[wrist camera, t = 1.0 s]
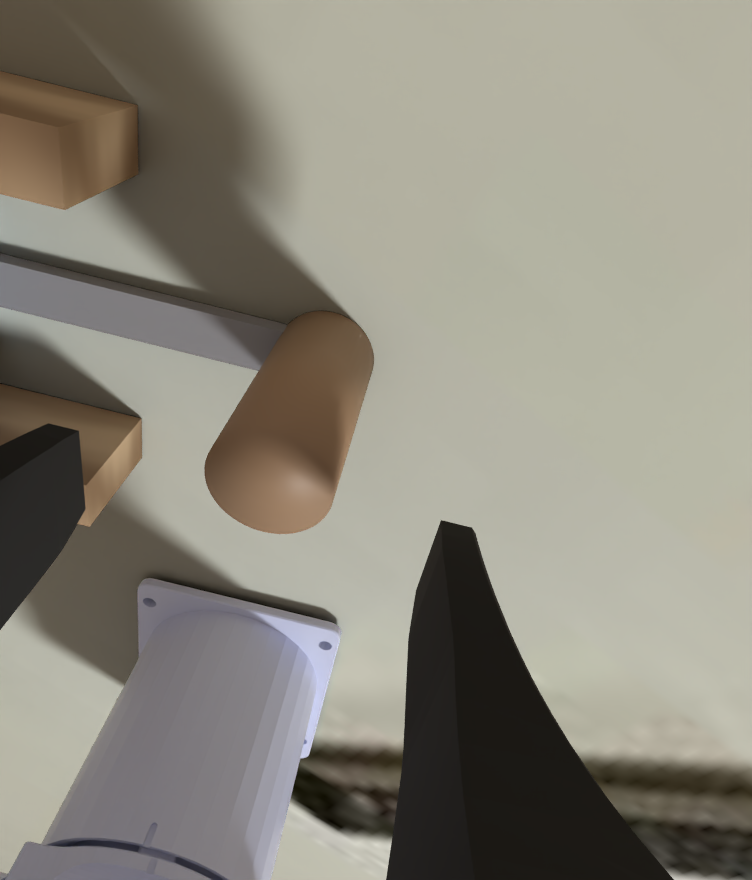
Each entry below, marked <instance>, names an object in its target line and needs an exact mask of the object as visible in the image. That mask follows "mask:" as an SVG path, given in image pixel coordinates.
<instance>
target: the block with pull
mask: <svg viewBox="0 0 752 880" xmlns="http://www.w3.org/2000/svg"><path fill="white" fill-rule="evenodd" d="M0 307H3V308H7V309H11V310H15V311H19V312H24V313H28V314H32V315H36V316H40V317H44V318H48V319H52V320H56V321H60V322H64V323H68V324H72V325H76V326H80V327H84V328H88V329H92V330H96V331H100V332H104V333H108V334H112V335H116V336H120V337H124V338H128V339H132V340H136V341H140V342H145V343H149V344H153V345H157V346H161V347H165V348H169V349H173V350H177V351H181V352H185V353H189V354H193V355H197V356H201V357H205V358H209V359H213V360H217V361H221V362H225V363H229V364H233V365H237V366H241V367H245V368H249V369H253V370H257V371H258V373H257V375H256V376H255V378H254V380H253V381H252V383H251V384H250V386H249V388H248V389H247V391H246V393H245V394H244V396H243V397H242V399H241V401H240V402H239V404H238V406H237V407H236V409H235V410H234V412H233V414H232V415H231V417H230V419H229V420H228V422H227V424H226V425H225V427H224V428H223V430H222V432H221V433H220V435H219V437H218V438H217V440H216V441H215V443H214V445H213V446H212V448H211V450H210V452H209V453H208V455H207V458H206V461H205V479H206V483H207V486H208V489H209V491H210V493H211V495H212V497H213V498H214V500H215V501H216V502H217V504H218V505H219V506H220V507H221V508H222V509H223V510H224V511H225V512H226V513H227V514H228V515H230V516H231V517H232V518H234V519H235V520H237V521H238V522H240V523H242V524H244V525H246V526H248V527H251V528H253V529H256V530H259V531H263V532H268V533H276V534H289V533H296V532H300V531H304V530H306V529H309V528H311V527H313V526H315V525H316V524H317V523H319V522H320V521H321V520H322V519H323V518H324V517H325V516H326V515H327V513H328V512H329V510H330V508H331V506H332V503H333V500H334V496H335V493H336V490H337V486H338V483H339V480H340V476H341V473H342V470H343V466H344V463H345V460H346V456H347V453H348V450H349V446H350V443H351V440H352V436H353V433H354V430H355V426H356V423H357V420H358V416H359V413H360V410H361V407H362V403H363V400H364V397H365V393H366V390H367V387H368V383H369V380H370V377H371V373H372V370H373V365H374V355H373V349H372V346H371V343H370V341H369V339H368V337H367V336H366V334H365V333H364V332H363V330H362V329H361V328H360V327H359V326H358V325H357V324H356V323H354V322H353V321H352V320H350V319H348V318H347V317H345V316H342V315H340V314H337V313H334V312H329V311H313V312H308V313H305V314H302V315H300V316H298V317H296V318H295V319H294V320H292V321H291V322H290V323H289V324H288V325H287V324H283V323H279V322H275V321H271V320H267V319H263V318H259V317H255V316H251V315H247V314H243V313H239V312H235V311H231V310H227V309H223V308H219V307H215V306H211V305H206V304H202V303H198V302H194V301H190V300H186V299H182V298H178V297H174V296H170V295H166V294H162V293H158V292H154V291H150V290H146V289H142V288H138V287H134V286H130V285H126V284H122V283H118V282H114V281H110V280H106V279H102V278H98V277H94V276H90V275H86V274H82V273H78V272H73V271H69V270H65V269H61V268H57V267H53V266H49V265H45V264H41V263H37V262H33V261H29V260H25V259H21V258H17V257H13V256H9V255H5V254H1V253H0Z"/></svg>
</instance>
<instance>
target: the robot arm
mask: <svg viewBox="0 0 752 880" xmlns="http://www.w3.org/2000/svg"><path fill="white" fill-rule="evenodd" d="M85 509H86V507H85V495H84V484H83V472H82V460H81V448H80V437H79V431H78V430H74V429H70V428H66V427H62V426H58V425H53V424H49V423H48V424H46V425H43V426H41V427H39V428H36V429H34V430H32V431H30V432H28V433H26V434H23V435H21V436H19V437H17V438H15V439H13V440H11V441H9V442H7V443H5V444H3V445H1V446H0V630H1V628H2V627H3V626H4V624H5V623H6V622H7V621H8V619H9V618H10V617H11V616H12V614H13V613H14V612H15V610H16V609H17V608H18V607H19V605H20V604H21V603H22V602H23V600H24V599H25V598H26V596H27V595H28V594H29V593H30V591H31V590H32V589H33V588H34V586H35V585H36V584H37V582H38V581H39V580H40V578H41V577H42V576H43V575H44V573H45V572H46V571H47V569H48V568H49V567H50V566H51V564H52V563H53V562H54V560H55V559H56V558H57V556H58V555H59V554H60V552H61V551H62V549H63V547H64V546H65V544H66V542H67V541H68V539H69V537H70V536H71V534H72V532H73V531H74V529H75V527H76V525H77V523H78V522H79V520H80V518H81V516H82V515H83V513H84V511H85ZM137 600H138V647H139V659H138V661H137V662H136V664H135V666H134V668H133V670H132V672H131V674H130V676H129V678H128V680H127V682H126V683H125V685H124V687H123V689H122V691H121V693H120V695H119V697H118V699H117V701H116V702H115V704H114V706H113V708H112V710H111V712H110V714H109V716H108V718H107V720H106V722H105V723H104V725H103V727H102V729H101V731H100V733H99V735H98V737H97V739H96V741H95V742H94V744H93V746H92V748H91V750H90V752H89V754H88V756H87V758H86V760H85V761H84V763H83V765H82V767H81V769H80V771H79V773H78V775H77V777H76V779H75V781H74V782H73V784H72V786H71V788H70V790H69V792H68V794H67V796H66V798H65V800H64V801H63V803H62V805H61V807H60V809H59V811H58V813H57V815H56V817H55V819H54V821H53V822H52V824H51V826H50V828H49V830H48V832H47V834H46V836H45V838H44V840H43V841H42V843H41V844H38V843H34V842H26V843H25V844H24V846H23V848H22V849H21V851H20V853H19V855H18V857H17V859H16V860H15V862H14V864H13V866H12V868H11V870H10V871H9V873H8V874H6V873H2V872H0V880H271V877H272V873H273V869H274V865H275V861H276V857H277V852H278V848H279V844H280V840H281V836H282V832H283V827H284V823H285V819H286V815H287V811H288V807H289V802H290V798H291V794H292V790H293V786H294V782H295V777H296V773H297V769H298V765H299V761H300V758H305V757H307V756H308V755H309V753H310V749H311V746H312V742H313V738H314V734H315V731H316V727H317V723H318V720H319V716H320V712H321V708H322V705H323V701H324V697H325V694H326V690H327V686H328V683H329V679H330V675H331V671H332V668H333V664H334V660H335V657H336V653H337V649H338V645H339V642H340V638H341V629H340V627H339V626H337V625H336V624H334V623H332V622H328V621H324V620H320V619H316V618H312V617H308V616H304V615H300V614H296V613H292V612H288V611H284V610H280V609H276V608H271V607H267V606H263V605H259V604H255V603H251V602H247V601H243V600H239V599H235V598H231V597H227V596H223V595H219V594H215V593H210V592H206V591H202V590H198V589H194V588H190V587H186V586H182V585H178V584H174V583H170V582H166V581H162V580H158V579H153V578H147V579H144V580H142V581H141V583H140V585H139V586H138V589H137ZM386 880H674V879H673V878H672V877H671V876H670V875H669V873H668V872H667V871H666V870H665V869H664V868H663V866H662V865H661V864H660V863H659V862H658V861H657V859H656V858H655V857H654V856H653V855H652V854H651V852H650V851H649V850H648V849H647V848H646V846H645V845H644V844H643V843H642V842H641V841H640V839H639V838H638V837H637V836H636V835H635V833H634V832H633V831H632V830H631V828H630V827H629V826H628V824H627V823H626V822H625V821H624V819H623V818H622V817H621V815H620V814H619V813H618V811H617V810H616V809H615V807H614V806H613V805H612V804H611V802H610V801H609V800H608V798H607V797H606V796H605V794H604V793H603V791H602V790H601V788H600V787H599V785H598V784H597V782H596V781H595V780H594V778H593V777H592V775H591V774H590V772H589V771H588V769H587V768H586V766H585V765H584V763H583V762H582V761H581V759H580V758H579V756H578V755H577V753H576V752H575V750H574V749H573V747H572V746H571V744H570V743H569V741H568V740H567V738H566V736H565V735H564V733H563V731H562V730H561V728H560V727H559V725H558V723H557V722H556V720H555V718H554V717H553V715H552V713H551V712H550V710H549V708H548V706H547V704H546V703H545V701H544V699H543V697H542V696H541V694H540V692H539V690H538V688H537V686H536V685H535V683H534V681H533V679H532V677H531V675H530V673H529V671H528V669H527V667H526V665H525V663H524V661H523V659H522V657H521V654H520V652H519V650H518V648H517V646H516V644H515V642H514V639H513V637H512V635H511V633H510V630H509V628H508V626H507V623H506V621H505V618H504V616H503V613H502V611H501V608H500V606H499V603H498V601H497V598H496V596H495V593H494V590H493V588H492V585H491V582H490V579H489V576H488V573H487V571H486V568H485V565H484V561H483V558H482V555H481V552H480V548H479V545H478V541H477V538H476V534H475V532H474V530H473V529H472V528H471V527H467V526H462V525H458V524H454V523H450V522H446V521H442V520H441V522H440V525H439V528H438V531H437V533H436V536H435V539H434V542H433V545H432V547H431V550H430V553H429V556H428V559H427V562H426V564H425V567H424V570H423V573H422V576H421V578H420V581H419V584H418V587H417V590H416V595H415V601H414V607H413V613H412V620H411V626H410V633H409V641H408V661H407V683H406V706H405V729H404V750H403V762H402V773H401V780H400V788H399V795H398V802H397V809H396V817H395V824H394V831H393V838H392V844H391V851H390V858H389V865H388V872H387V879H386Z"/></svg>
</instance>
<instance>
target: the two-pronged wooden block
mask: <svg viewBox="0 0 752 880" xmlns="http://www.w3.org/2000/svg"><path fill="white" fill-rule="evenodd" d="M136 175H138V105H135V104H131V103H127V102H123V101H119V100H115V99H111V98H107V97H103V96H99V95H95V94H91V93H87V92H83V91H79V90H75V89H71V88H67V87H63V86H59V85H55V84H50V83H46V82H42V81H38V80H34V79H30V78H26V77H22V76H18V75H14V74H10V73H6V72H2V71H0V194H2V195H6V196H10V197H15V198H19V199H23V200H27V201H31V202H35V203H39V204H43V205H47V206H51V207H55V208H59V209H63V210H66V209H68V208H70V207H72V206H74V205H76V204H78V203H80V202H82V201H84V200H86V199H88V198H90V197H93V196H95V195H97V194H99V193H101V192H103V191H105V190H107V189H109V188H111V187H113V186H115V185H117V184H119V183H121V182H123V181H125V180H127V179H130V178H132V177H134V176H136ZM48 423H49V424H53V425H58V426H62V427H66V428H70V429H74V430H78V431H79V437H80V448H81V460H82V472H83V484H84V495H85V507H86V509H85V511H84V513H83V515H82V516H81V518H80V520H79V522H78V523H77V524H80V525H84V526H88V527H90V526H91V524H92V523H93V522H94V520H95V519H96V518H97V516H98V515H99V514H100V512H101V511H102V510H103V508H104V507H105V506H106V505H107V503H108V502H109V501H110V499H111V498H112V497H113V495H114V494H115V493H116V491H117V490H118V489H119V487H120V486H121V485H122V483H123V482H124V481H125V479H126V478H127V477H128V475H129V474H130V473H131V471H132V470H133V469H134V467H135V466H136V465H137V463H138V462H139V461H140V459H141V458H142V421H141V418H137V417H133V416H129V415H125V414H121V413H117V412H113V411H109V410H105V409H101V408H97V407H93V406H89V405H85V404H81V403H76V402H72V401H68V400H64V399H60V398H56V397H52V396H48V395H44V394H40V393H36V392H32V391H28V390H24V389H20V388H16V387H12V386H8V385H4V384H0V446H1V445H3V444H5V443H7V442H9V441H11V440H13V439H15V438H17V437H19V436H21V435H23V434H26V433H28V432H30V431H32V430H34V429H36V428H39V427H41V426H43V425H46V424H48Z"/></svg>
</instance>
